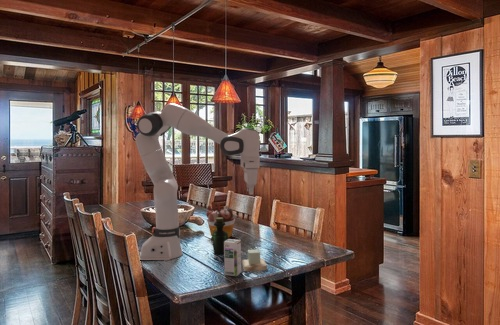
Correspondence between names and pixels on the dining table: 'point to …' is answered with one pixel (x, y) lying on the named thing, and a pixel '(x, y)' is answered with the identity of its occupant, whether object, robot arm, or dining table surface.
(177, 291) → the dining table surface
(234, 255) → the syrup box
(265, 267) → the maple board
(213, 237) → the potion bottle
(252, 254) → the sage cube
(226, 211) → the bucket of meat
